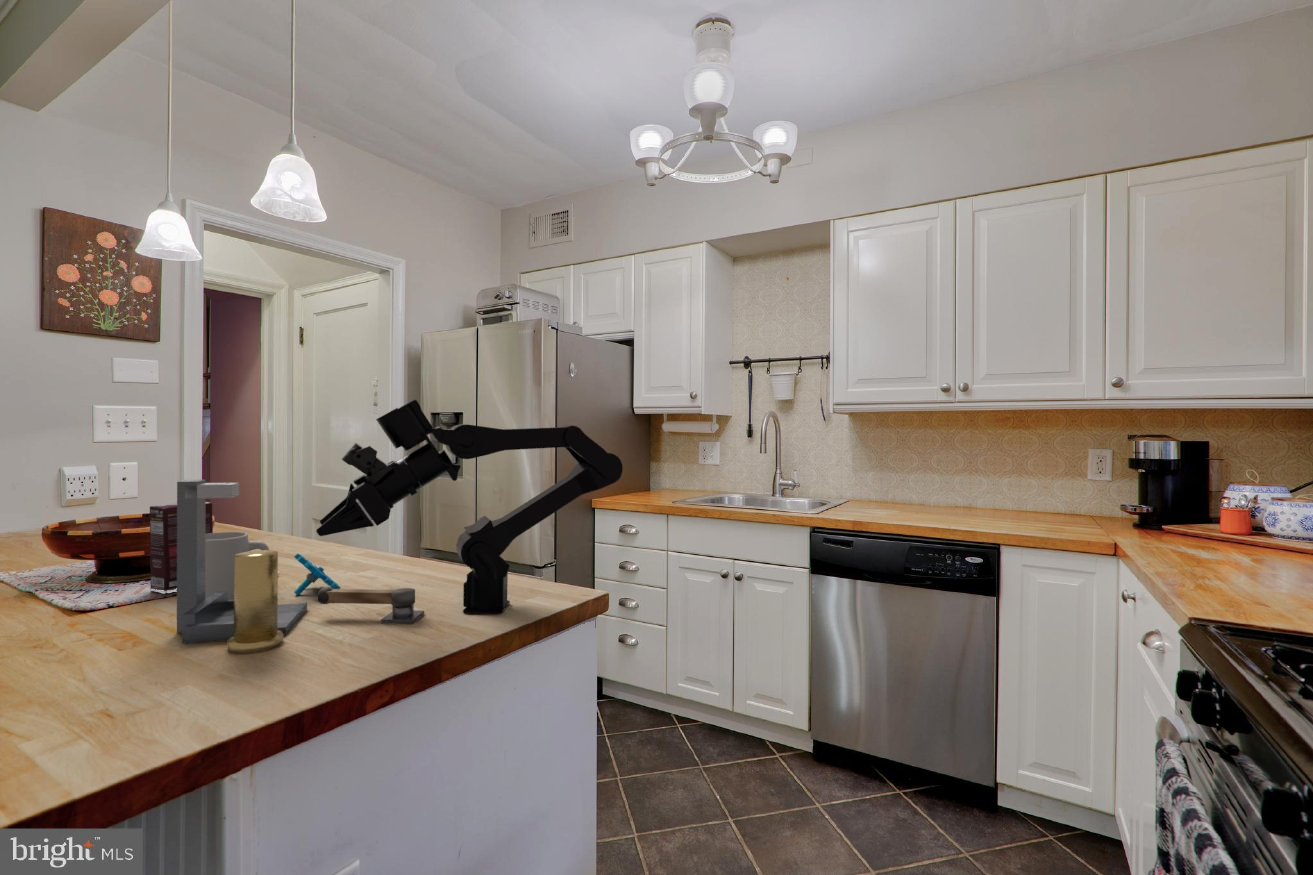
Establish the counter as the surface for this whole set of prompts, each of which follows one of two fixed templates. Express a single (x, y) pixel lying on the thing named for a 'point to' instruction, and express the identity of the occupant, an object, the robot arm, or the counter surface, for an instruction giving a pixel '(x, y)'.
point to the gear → (313, 575)
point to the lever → (367, 596)
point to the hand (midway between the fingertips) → (319, 528)
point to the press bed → (193, 610)
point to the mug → (225, 559)
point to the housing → (255, 603)
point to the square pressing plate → (402, 615)
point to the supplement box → (167, 544)
